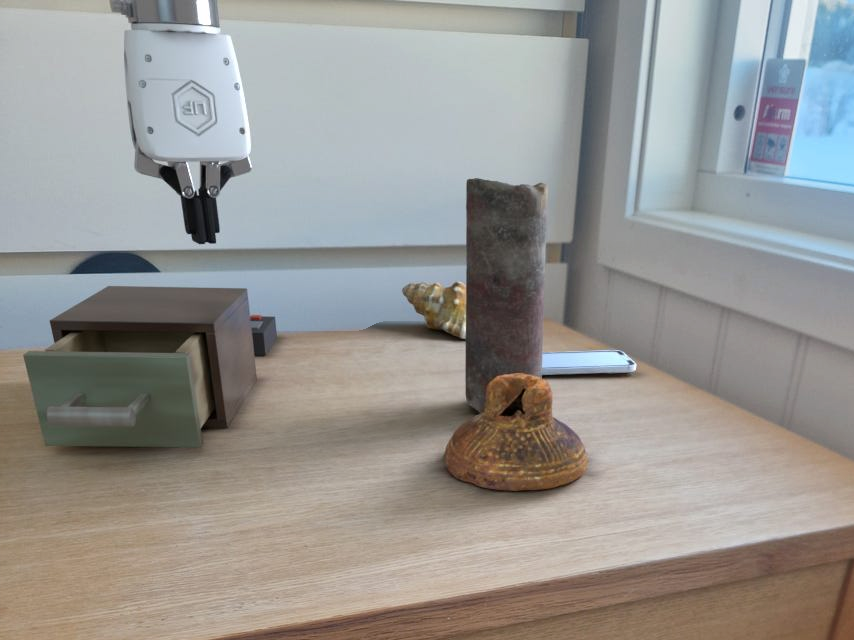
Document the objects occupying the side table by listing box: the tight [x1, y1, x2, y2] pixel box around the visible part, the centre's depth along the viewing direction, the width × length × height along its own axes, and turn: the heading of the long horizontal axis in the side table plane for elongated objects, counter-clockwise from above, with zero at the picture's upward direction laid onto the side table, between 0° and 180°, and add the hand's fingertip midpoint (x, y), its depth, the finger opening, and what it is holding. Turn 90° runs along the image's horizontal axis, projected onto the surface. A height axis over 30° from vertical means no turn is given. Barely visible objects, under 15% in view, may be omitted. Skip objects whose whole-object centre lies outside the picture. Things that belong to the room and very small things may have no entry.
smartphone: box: [542, 349, 637, 376], centre depth 99 cm, size 7×1×15 cm
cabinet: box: [49, 285, 258, 429], centre depth 83 cm, size 16×14×9 cm
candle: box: [464, 177, 549, 414], centre depth 81 cm, size 8×7×20 cm
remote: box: [250, 314, 278, 357], centre depth 103 cm, size 8×4×3 cm, turn 2°
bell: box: [443, 373, 589, 492], centre depth 71 cm, size 12×12×7 cm
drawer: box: [22, 330, 216, 448], centre depth 73 cm, size 20×12×7 cm, turn 2°
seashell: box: [401, 281, 466, 340], centre depth 112 cm, size 9×8×10 cm
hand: (204, 241), depth 86 cm, fingers closed
